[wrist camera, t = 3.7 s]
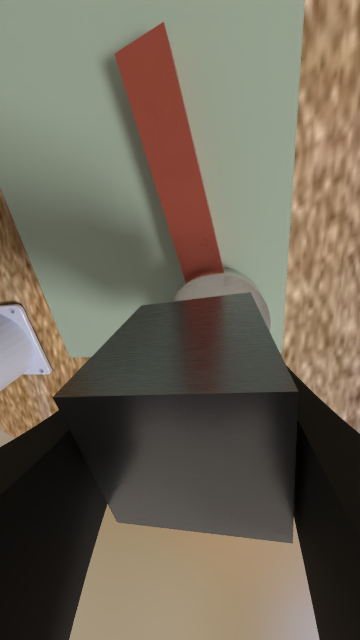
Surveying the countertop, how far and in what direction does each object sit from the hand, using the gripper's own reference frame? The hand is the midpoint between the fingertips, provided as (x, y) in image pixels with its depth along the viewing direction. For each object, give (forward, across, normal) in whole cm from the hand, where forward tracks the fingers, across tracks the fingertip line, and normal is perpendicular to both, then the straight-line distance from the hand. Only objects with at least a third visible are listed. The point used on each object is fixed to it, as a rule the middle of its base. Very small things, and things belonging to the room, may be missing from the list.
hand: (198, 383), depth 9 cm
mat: (+10, +4, -7) cm, 13 cm away
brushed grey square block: (+2, 0, 0) cm, 2 cm away
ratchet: (+9, 0, -5) cm, 10 cm away
